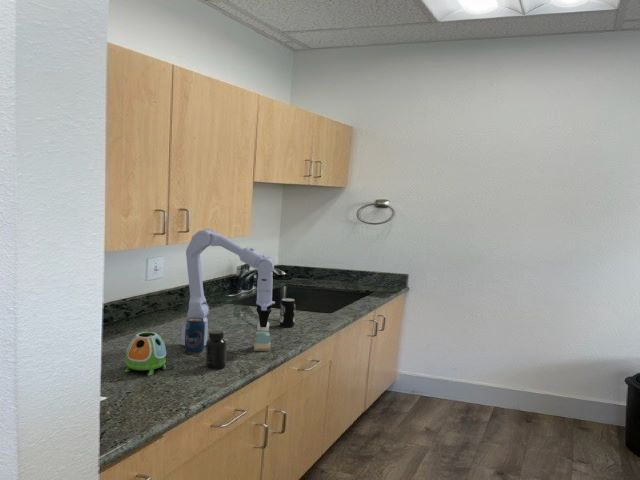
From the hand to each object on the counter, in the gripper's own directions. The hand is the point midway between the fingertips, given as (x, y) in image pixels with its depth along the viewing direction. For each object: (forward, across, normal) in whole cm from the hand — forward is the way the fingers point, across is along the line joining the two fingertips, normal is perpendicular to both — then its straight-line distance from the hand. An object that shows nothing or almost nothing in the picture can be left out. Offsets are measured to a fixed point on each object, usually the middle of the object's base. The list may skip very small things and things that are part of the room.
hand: (263, 325), depth 225 cm
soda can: (+9, -6, +25) cm, 27 cm away
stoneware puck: (+2, 0, 0) cm, 2 cm away
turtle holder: (+9, -28, +38) cm, 47 cm away
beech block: (+9, 0, 0) cm, 9 cm away
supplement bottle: (+9, -24, +16) cm, 30 cm away
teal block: (+6, 0, 0) cm, 6 cm away
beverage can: (+9, +38, -11) cm, 40 cm away
